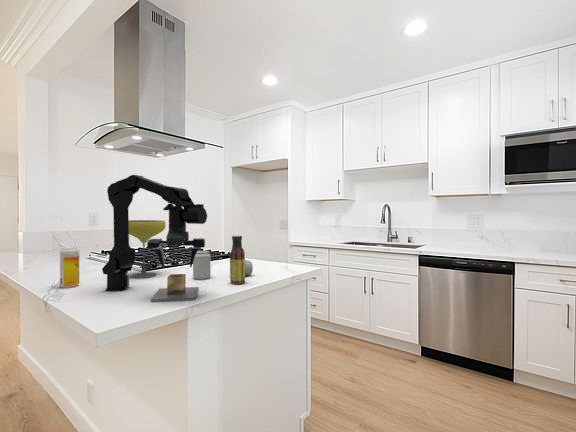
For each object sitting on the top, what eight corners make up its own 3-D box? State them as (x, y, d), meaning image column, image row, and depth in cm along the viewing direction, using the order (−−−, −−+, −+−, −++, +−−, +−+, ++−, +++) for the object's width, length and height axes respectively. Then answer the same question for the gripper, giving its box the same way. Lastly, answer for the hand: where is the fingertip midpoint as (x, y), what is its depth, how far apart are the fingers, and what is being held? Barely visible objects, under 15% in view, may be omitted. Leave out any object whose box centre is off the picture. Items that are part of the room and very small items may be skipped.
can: (205, 280, 132) (205, 252, 131) (189, 279, 133) (189, 252, 133) (213, 276, 139) (213, 250, 139) (198, 276, 141) (198, 249, 140)
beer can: (82, 285, 120) (82, 247, 120) (66, 289, 115) (66, 249, 114) (73, 283, 123) (73, 246, 123) (56, 287, 117) (56, 248, 117)
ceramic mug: (253, 276, 141) (253, 259, 141) (236, 278, 137) (236, 261, 137) (244, 272, 150) (244, 257, 150) (228, 274, 146) (228, 258, 146)
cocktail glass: (116, 275, 140) (116, 220, 140) (157, 270, 152) (157, 220, 152) (127, 282, 127) (128, 221, 126) (171, 276, 139) (171, 221, 138)
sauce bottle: (239, 280, 132) (239, 234, 132) (248, 283, 128) (248, 235, 127) (226, 283, 128) (227, 235, 127) (235, 285, 123) (235, 236, 123)
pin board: (151, 302, 100) (151, 283, 100) (159, 291, 114) (159, 274, 113) (195, 300, 103) (195, 282, 103) (198, 289, 117) (198, 273, 116)
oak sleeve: (167, 294, 105) (167, 277, 105) (169, 290, 110) (169, 274, 110) (183, 294, 106) (183, 277, 106) (185, 290, 111) (185, 273, 111)
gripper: (143, 224, 98) (143, 273, 98) (203, 224, 102) (203, 271, 102) (150, 223, 109) (150, 266, 109) (205, 223, 113) (205, 265, 113)
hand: (177, 267), depth 108 cm, fingers open, 9 cm apart
